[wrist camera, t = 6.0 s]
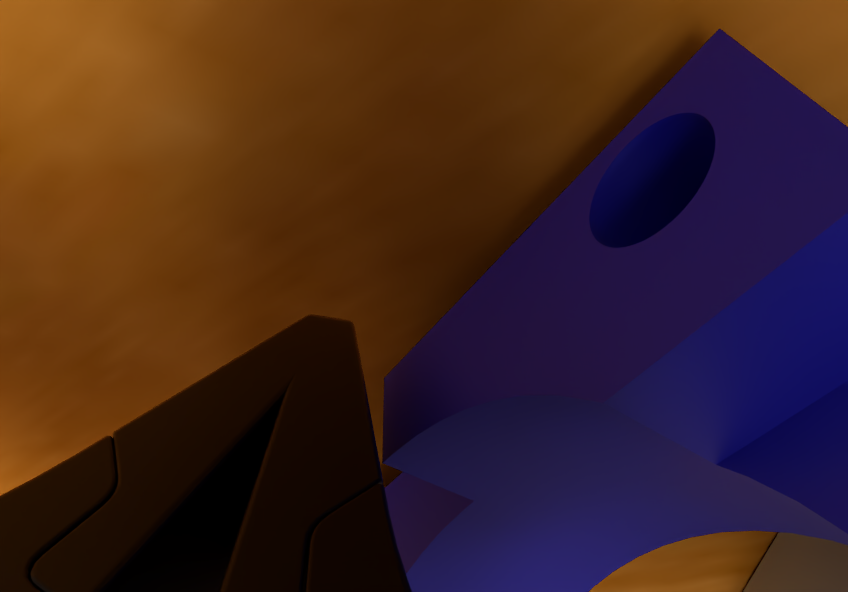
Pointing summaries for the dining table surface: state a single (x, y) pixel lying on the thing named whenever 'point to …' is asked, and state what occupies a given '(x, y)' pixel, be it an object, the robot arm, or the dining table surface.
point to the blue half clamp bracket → (641, 352)
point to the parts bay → (802, 566)
